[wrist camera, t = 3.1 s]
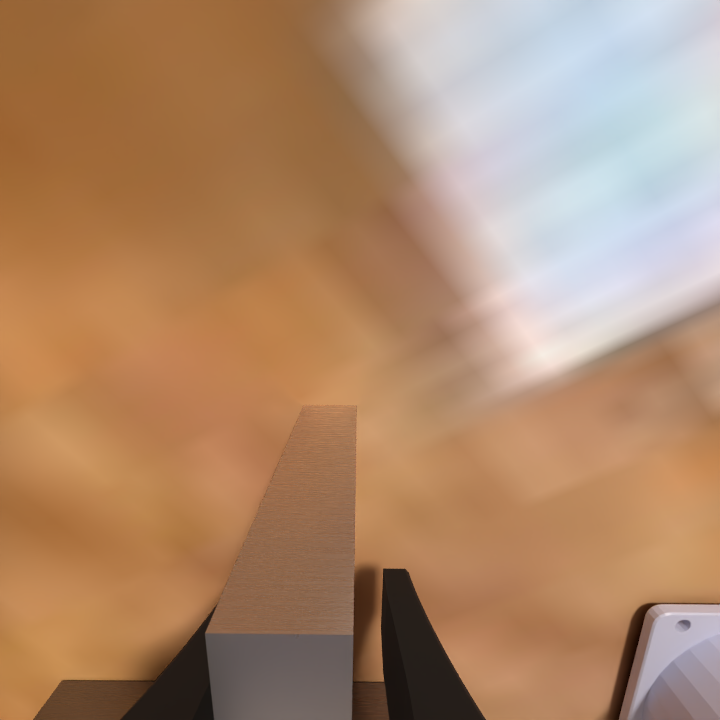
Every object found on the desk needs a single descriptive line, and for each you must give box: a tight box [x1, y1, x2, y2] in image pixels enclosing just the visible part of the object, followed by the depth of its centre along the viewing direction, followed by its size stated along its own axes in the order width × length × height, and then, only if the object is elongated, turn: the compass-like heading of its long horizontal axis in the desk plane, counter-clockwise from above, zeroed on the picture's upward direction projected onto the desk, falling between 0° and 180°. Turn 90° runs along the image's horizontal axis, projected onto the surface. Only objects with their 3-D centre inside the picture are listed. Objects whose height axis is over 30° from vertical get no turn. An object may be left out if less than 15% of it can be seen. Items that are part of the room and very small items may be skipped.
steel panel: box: [205, 405, 357, 720], centre depth 8 cm, size 2×10×7 cm, turn 179°
